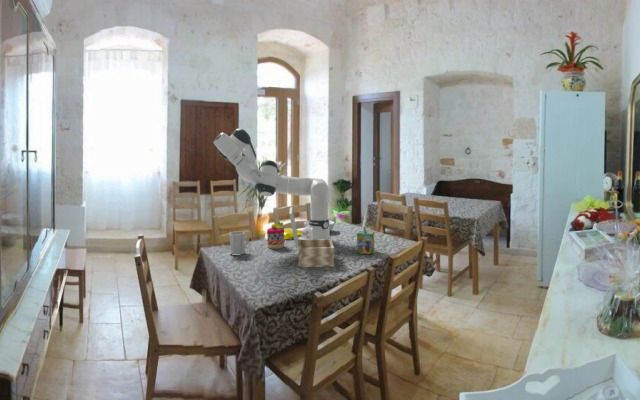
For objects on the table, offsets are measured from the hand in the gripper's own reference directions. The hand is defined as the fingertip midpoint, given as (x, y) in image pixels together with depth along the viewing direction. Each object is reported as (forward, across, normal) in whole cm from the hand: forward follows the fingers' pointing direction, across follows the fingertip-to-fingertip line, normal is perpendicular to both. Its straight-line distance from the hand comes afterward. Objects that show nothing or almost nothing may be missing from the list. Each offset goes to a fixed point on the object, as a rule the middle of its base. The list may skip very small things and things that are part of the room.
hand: (259, 177), depth 240 cm
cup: (+21, -20, -41) cm, 51 cm away
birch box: (+52, -1, -11) cm, 53 cm away
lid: (+31, 0, -5) cm, 31 cm away
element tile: (+39, -64, -22) cm, 78 cm away
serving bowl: (+53, -79, -7) cm, 95 cm away
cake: (+35, -35, -27) cm, 56 cm away
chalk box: (+72, -20, +10) cm, 75 cm away
